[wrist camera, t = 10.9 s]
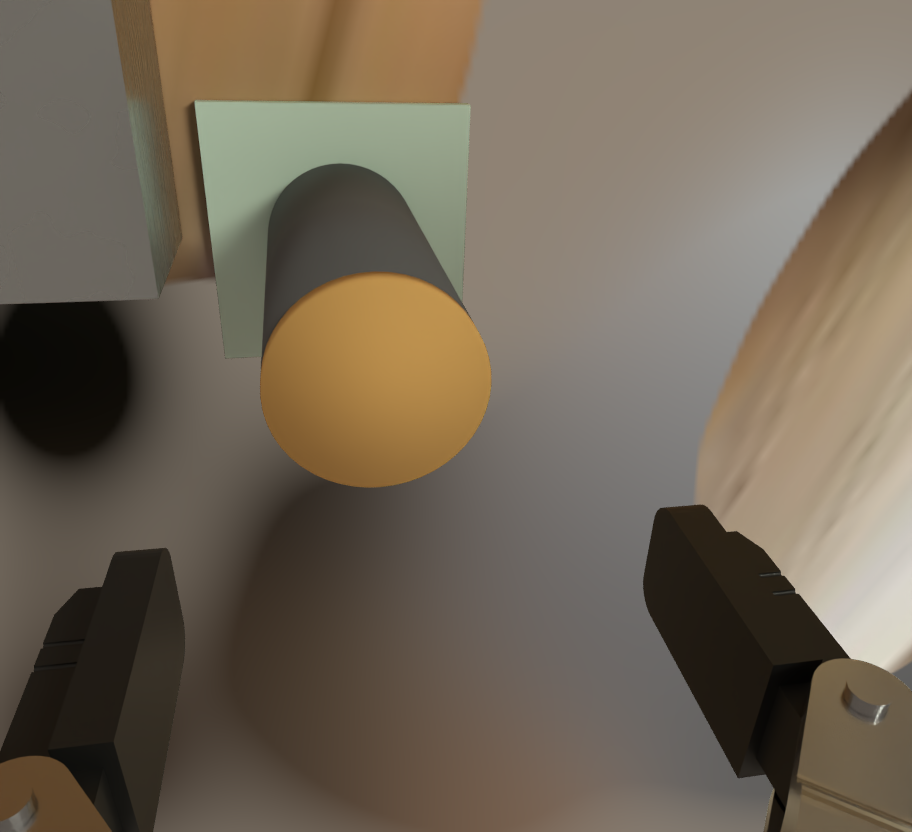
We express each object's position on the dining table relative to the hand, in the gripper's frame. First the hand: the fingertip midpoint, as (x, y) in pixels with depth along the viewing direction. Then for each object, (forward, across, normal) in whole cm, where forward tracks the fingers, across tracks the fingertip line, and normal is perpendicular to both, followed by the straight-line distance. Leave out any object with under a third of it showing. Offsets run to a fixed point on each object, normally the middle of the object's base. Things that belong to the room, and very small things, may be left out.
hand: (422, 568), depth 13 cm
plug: (+18, +1, 0) cm, 18 cm away
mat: (+18, +1, 0) cm, 18 cm away
